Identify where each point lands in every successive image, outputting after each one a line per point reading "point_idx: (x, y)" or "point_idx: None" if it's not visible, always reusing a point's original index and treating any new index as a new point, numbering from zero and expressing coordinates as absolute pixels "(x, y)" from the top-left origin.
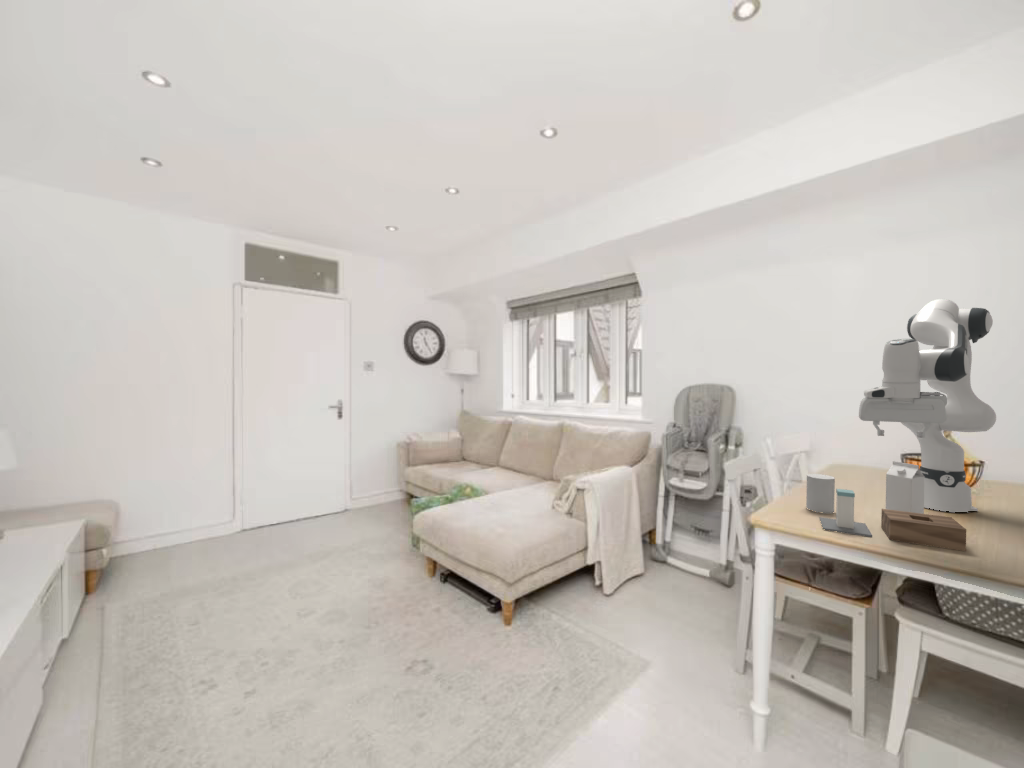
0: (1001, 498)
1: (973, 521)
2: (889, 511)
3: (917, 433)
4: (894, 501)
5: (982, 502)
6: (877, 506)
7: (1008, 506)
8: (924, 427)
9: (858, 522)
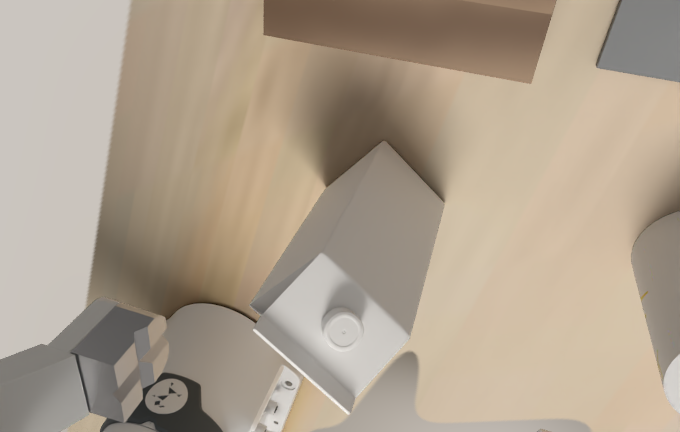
0: (90, 427)
1: (182, 235)
2: (516, 34)
3: (140, 381)
4: (409, 222)
5: None
6: None
7: None
8: (3, 429)
9: (626, 72)
